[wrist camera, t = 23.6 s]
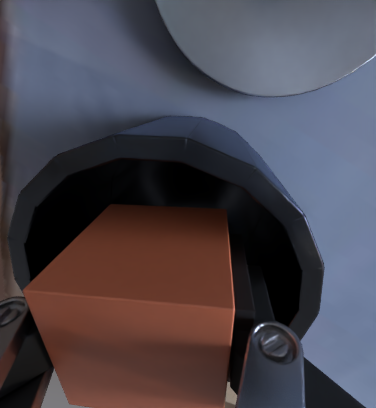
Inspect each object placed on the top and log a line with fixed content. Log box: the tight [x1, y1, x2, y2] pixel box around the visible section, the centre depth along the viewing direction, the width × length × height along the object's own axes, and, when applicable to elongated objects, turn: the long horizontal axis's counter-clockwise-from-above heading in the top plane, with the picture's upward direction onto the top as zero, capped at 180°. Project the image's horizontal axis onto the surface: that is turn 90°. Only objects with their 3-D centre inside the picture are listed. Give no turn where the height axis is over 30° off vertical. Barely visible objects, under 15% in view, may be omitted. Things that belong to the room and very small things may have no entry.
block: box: [23, 204, 235, 408], centre depth 8 cm, size 5×5×5 cm
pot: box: [7, 116, 324, 381], centre depth 12 cm, size 11×12×8 cm
